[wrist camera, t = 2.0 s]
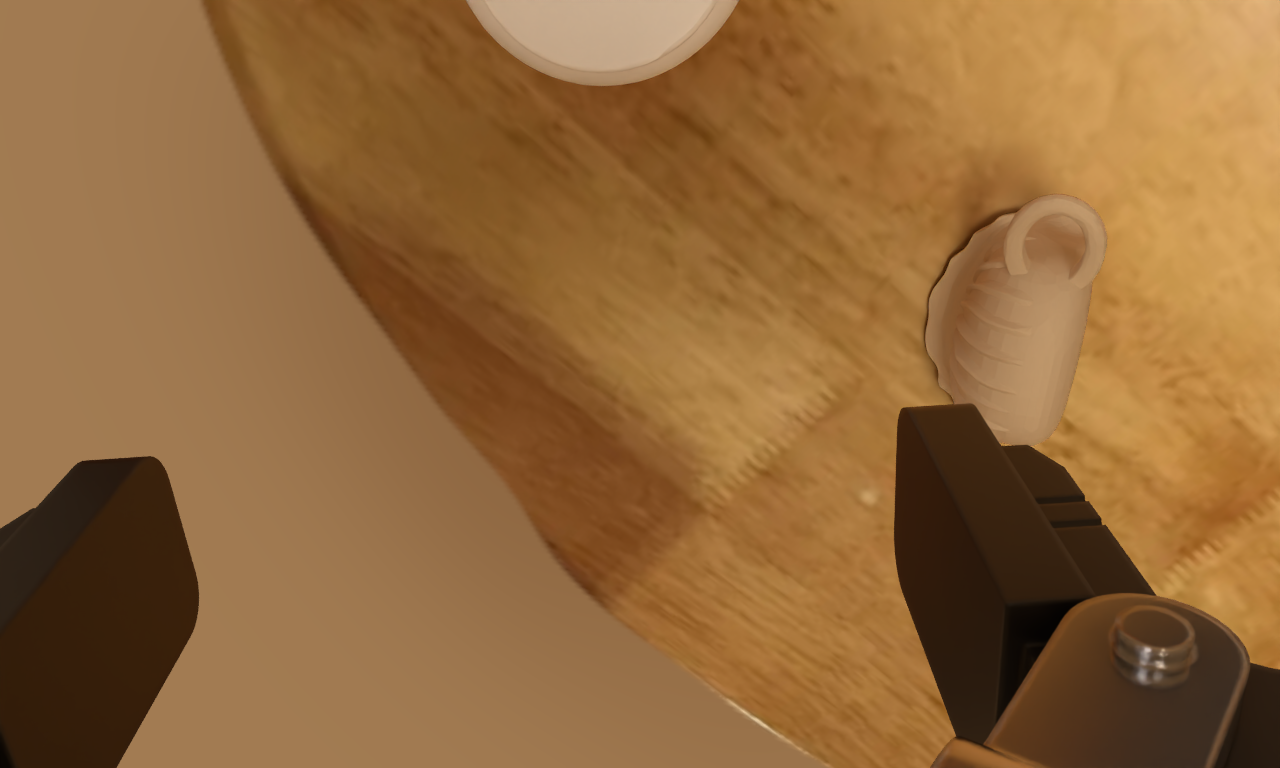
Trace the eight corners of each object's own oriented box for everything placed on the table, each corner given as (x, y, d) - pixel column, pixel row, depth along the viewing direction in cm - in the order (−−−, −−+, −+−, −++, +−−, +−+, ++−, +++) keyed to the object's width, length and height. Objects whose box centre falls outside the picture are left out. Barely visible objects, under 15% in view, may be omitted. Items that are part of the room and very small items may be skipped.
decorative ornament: (906, 408, 35) (950, 496, 30) (963, 143, 32) (1024, 195, 27) (1033, 418, 35) (1097, 507, 31) (1104, 156, 32) (1189, 210, 27)
